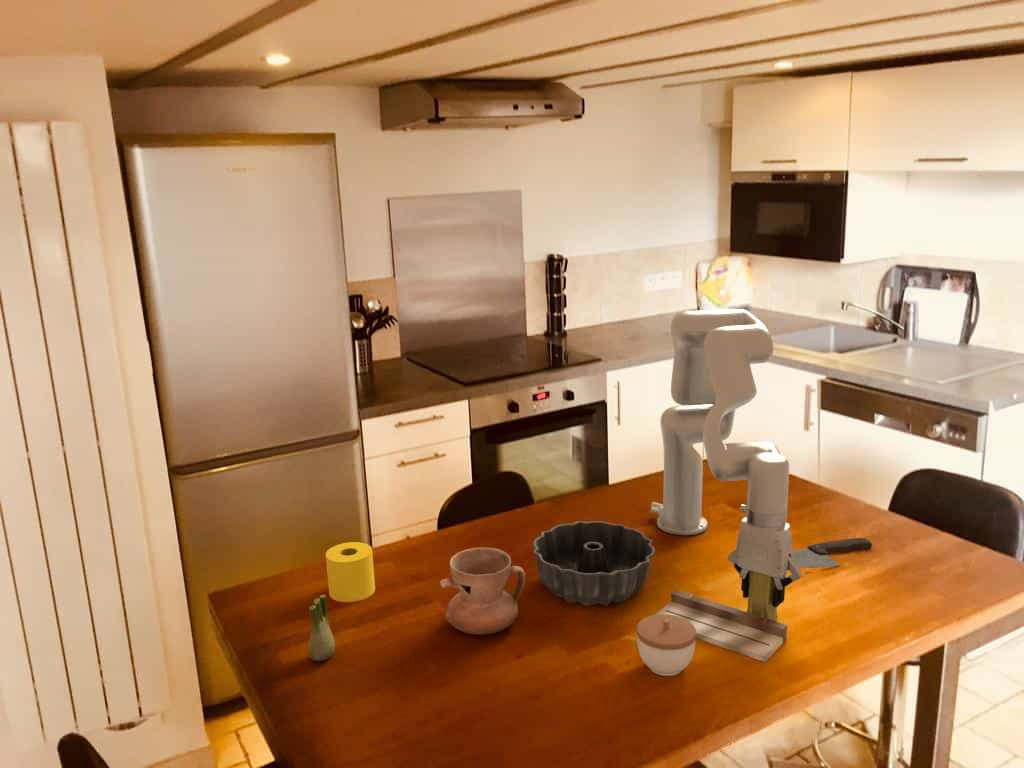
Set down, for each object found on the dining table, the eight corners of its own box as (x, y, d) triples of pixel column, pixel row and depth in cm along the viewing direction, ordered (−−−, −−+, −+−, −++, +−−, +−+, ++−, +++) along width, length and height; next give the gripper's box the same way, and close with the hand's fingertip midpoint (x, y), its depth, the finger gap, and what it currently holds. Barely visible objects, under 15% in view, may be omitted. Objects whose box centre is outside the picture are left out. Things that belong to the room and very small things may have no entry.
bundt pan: (680, 594, 185) (680, 551, 183) (580, 630, 172) (580, 585, 169) (604, 550, 207) (604, 511, 204) (511, 580, 194) (510, 539, 191)
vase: (778, 611, 175) (781, 547, 172) (776, 627, 170) (780, 560, 166) (747, 607, 177) (749, 543, 174) (744, 622, 172) (747, 557, 168)
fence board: (651, 622, 174) (651, 608, 173) (675, 602, 181) (676, 588, 180) (765, 662, 159) (765, 646, 158) (786, 638, 166) (787, 623, 166)
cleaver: (857, 540, 208) (857, 532, 208) (887, 557, 199) (887, 548, 199) (754, 564, 199) (754, 556, 198) (781, 583, 190) (782, 574, 189)
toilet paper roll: (384, 589, 191) (381, 550, 189) (348, 606, 184) (344, 566, 181) (356, 576, 198) (353, 538, 195) (320, 592, 190) (316, 553, 188)
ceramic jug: (452, 650, 166) (448, 583, 163) (433, 615, 179) (430, 552, 176) (539, 632, 172) (537, 566, 168) (515, 599, 185) (513, 537, 181)
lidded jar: (682, 690, 151) (683, 642, 149) (626, 673, 157) (626, 626, 155) (703, 660, 160) (705, 614, 158) (650, 645, 166) (650, 601, 163)
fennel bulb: (326, 646, 169) (321, 590, 166) (343, 654, 166) (338, 598, 163) (302, 659, 164) (296, 602, 161) (319, 668, 161) (313, 610, 158)
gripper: (717, 512, 171) (714, 594, 175) (802, 533, 160) (796, 620, 164) (733, 500, 176) (730, 580, 181) (817, 520, 165) (811, 605, 170)
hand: (762, 599), depth 172 cm, fingers closed on vase, 5 cm apart
